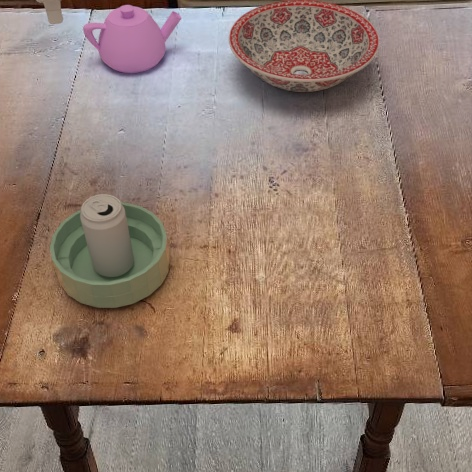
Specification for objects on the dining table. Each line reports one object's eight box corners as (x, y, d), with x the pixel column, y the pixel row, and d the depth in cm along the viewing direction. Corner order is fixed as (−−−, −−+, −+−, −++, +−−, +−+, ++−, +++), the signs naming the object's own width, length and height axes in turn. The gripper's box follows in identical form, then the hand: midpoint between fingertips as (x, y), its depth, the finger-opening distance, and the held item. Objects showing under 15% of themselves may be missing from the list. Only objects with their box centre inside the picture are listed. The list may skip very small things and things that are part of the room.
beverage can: (114, 286, 103) (101, 228, 93) (84, 268, 105) (68, 209, 95) (143, 262, 106) (133, 203, 96) (113, 244, 108) (100, 185, 98)
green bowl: (49, 310, 101) (40, 283, 96) (69, 229, 111) (61, 201, 106) (164, 312, 101) (161, 285, 96) (173, 230, 111) (170, 202, 106)
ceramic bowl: (368, 125, 128) (375, 87, 121) (216, 109, 131) (215, 71, 124) (376, 42, 145) (383, 5, 138) (242, 30, 148) (242, -6, 142)
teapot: (192, 66, 140) (189, 15, 131) (96, 83, 136) (86, 33, 128) (174, 32, 148) (170, -18, 139) (84, 48, 144) (74, -2, 136)
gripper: (-10, -149, 82) (20, -31, 93) (2, -79, 70) (34, 46, 81) (42, -154, 83) (66, -37, 94) (63, -86, 71) (87, 39, 82)
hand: (51, 2), depth 88 cm, fingers open, 8 cm apart
